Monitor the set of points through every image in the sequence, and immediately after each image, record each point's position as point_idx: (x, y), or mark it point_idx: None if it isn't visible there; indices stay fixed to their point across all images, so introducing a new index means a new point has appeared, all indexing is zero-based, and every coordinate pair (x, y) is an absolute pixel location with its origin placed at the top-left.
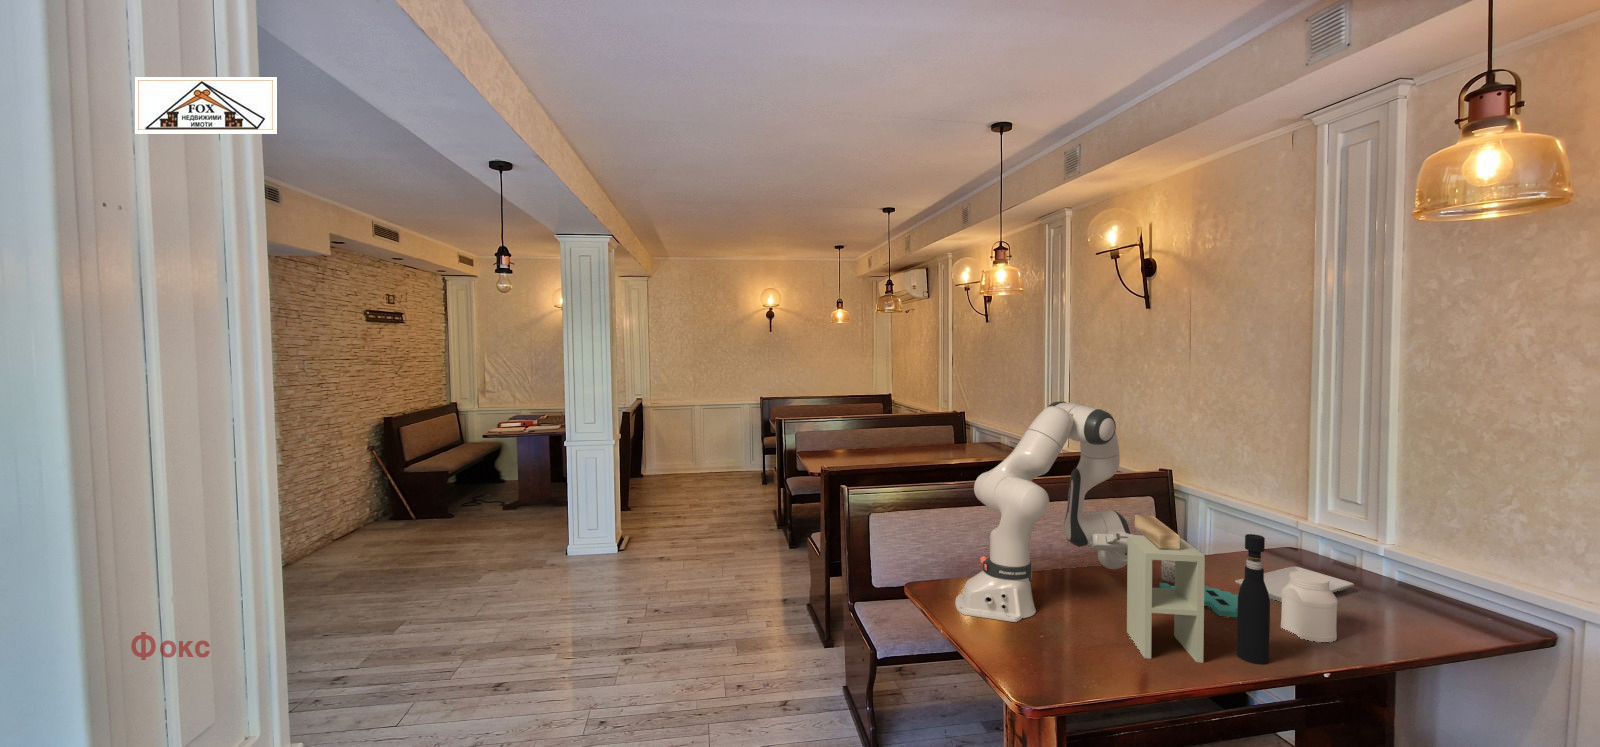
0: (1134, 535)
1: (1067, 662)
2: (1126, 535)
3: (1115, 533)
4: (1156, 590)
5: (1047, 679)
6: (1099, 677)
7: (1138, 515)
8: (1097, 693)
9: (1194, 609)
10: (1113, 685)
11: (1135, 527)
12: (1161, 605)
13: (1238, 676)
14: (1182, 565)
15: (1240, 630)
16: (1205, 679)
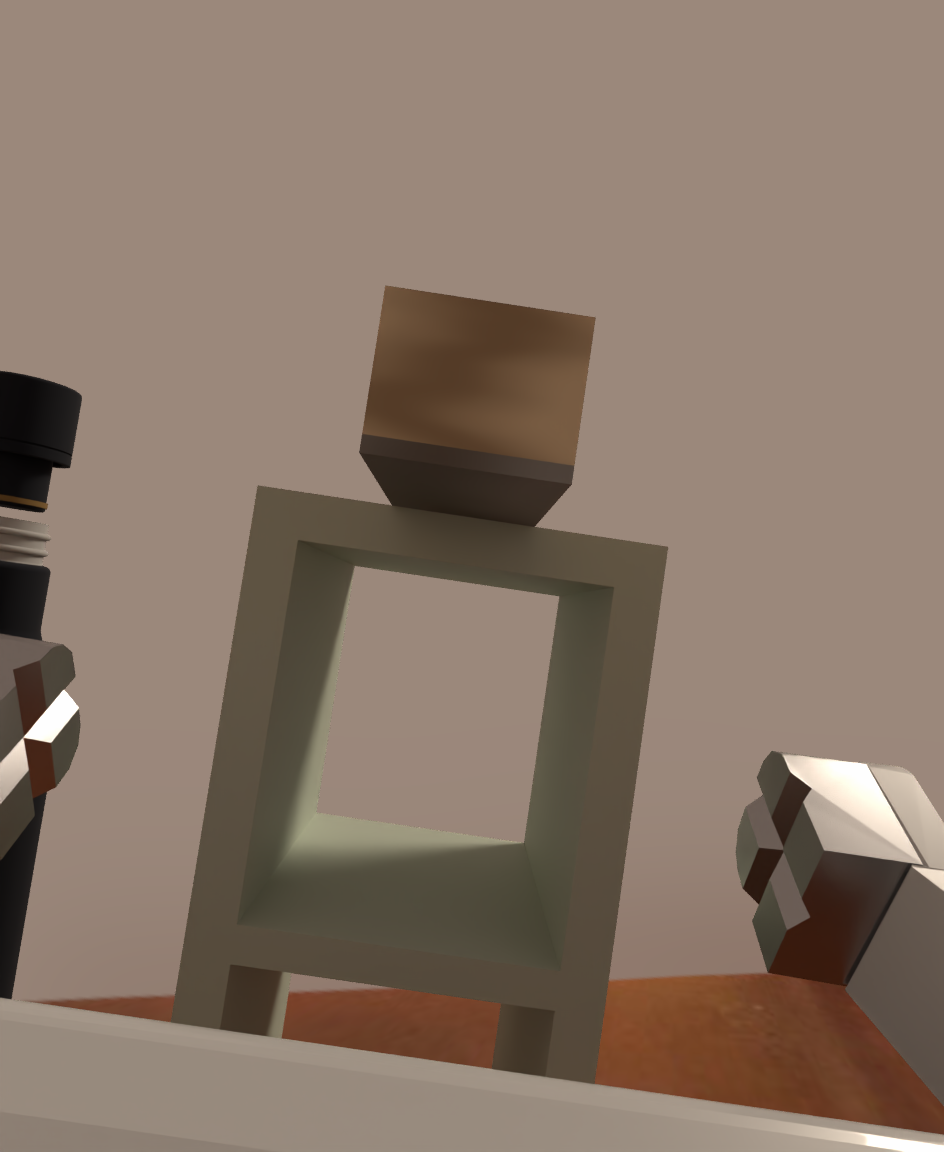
0: (111, 1020)
1: (856, 1106)
2: (493, 1072)
3: (866, 763)
4: (403, 924)
5: (882, 1035)
6: (715, 1033)
7: (557, 318)
8: (714, 984)
9: (320, 817)
10: (667, 1003)
11: (570, 476)
12: (465, 846)
13: (172, 1006)
14: (306, 659)
15: (20, 931)
16: (327, 1003)
